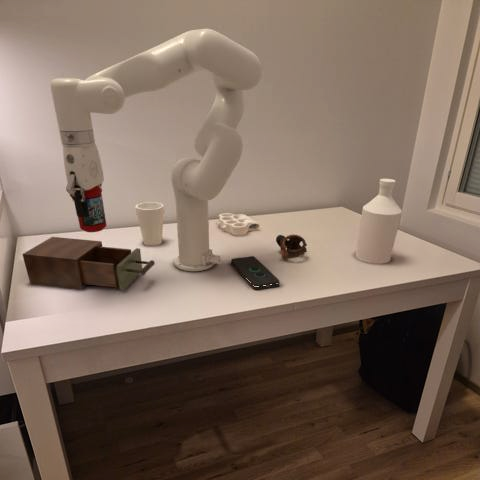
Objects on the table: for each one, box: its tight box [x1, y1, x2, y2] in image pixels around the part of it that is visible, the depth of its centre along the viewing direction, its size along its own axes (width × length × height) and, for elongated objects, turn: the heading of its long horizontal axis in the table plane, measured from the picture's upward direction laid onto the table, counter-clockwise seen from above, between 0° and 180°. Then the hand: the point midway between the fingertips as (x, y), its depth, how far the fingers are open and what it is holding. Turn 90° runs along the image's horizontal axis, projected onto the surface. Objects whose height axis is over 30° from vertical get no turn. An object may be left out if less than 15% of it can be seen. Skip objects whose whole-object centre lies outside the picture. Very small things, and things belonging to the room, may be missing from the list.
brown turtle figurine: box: [275, 234, 308, 261], centre depth 139 cm, size 12×10×8 cm
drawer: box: [78, 246, 155, 291], centre depth 119 cm, size 20×13×7 cm, turn 79°
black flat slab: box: [230, 255, 280, 291], centre depth 126 cm, size 8×2×20 cm
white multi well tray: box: [215, 212, 261, 237], centre depth 163 cm, size 3×18×15 cm
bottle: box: [355, 178, 403, 265], centre depth 134 cm, size 12×12×25 cm
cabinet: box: [21, 236, 103, 290], centre depth 121 cm, size 16×14×9 cm
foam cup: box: [135, 201, 165, 247], centre depth 145 cm, size 10×9×13 cm
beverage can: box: [77, 185, 107, 233], centre depth 108 cm, size 7×7×12 cm
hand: (90, 211), depth 109 cm, fingers closed on beverage can, 6 cm apart
